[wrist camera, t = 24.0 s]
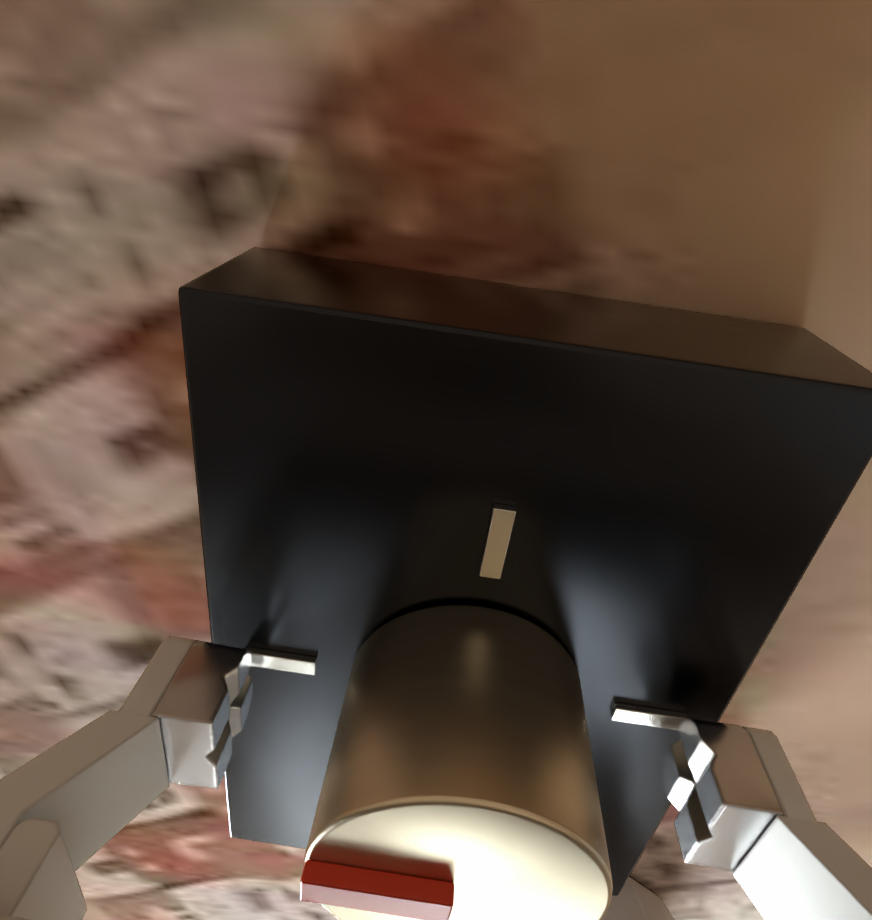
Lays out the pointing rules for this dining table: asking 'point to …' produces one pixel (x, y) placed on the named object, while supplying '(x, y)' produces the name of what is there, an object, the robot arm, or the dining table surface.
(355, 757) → the dial
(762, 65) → the dining table surface
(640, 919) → the salt shaker
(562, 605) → the timer panel
